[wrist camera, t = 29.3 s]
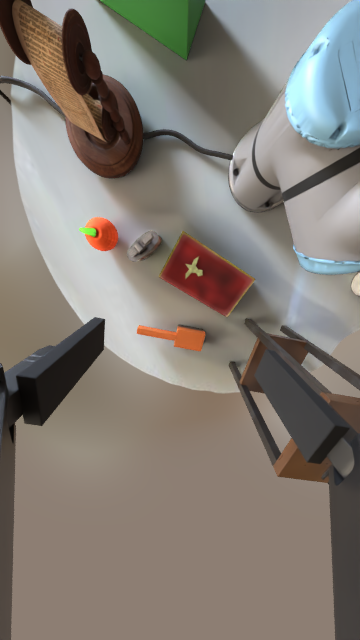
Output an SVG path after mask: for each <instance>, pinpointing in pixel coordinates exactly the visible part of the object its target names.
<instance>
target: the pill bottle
mask: <svg viewBox="0 0 360 640" xmlns="http://www.w3.org/2000/svg"><path fill="white" fill-rule="evenodd" d="M351 288H352V291H353V292H354V293H355V294H356V295H359V296H360V272H359V273H358V274H357V275H356V276H355V277H354V279H353V281H352V284H351Z"/></svg>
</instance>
